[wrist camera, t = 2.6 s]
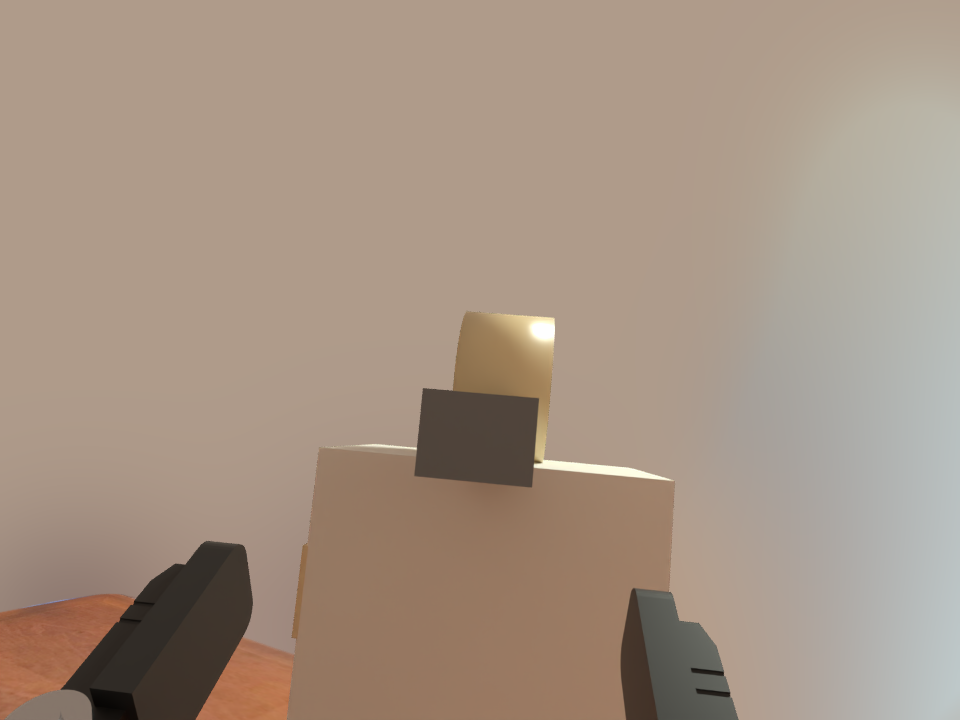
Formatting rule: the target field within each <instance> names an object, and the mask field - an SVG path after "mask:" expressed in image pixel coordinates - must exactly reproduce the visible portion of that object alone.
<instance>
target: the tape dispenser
mask: <svg viewBox="0 0 960 720" xmlns="http://www.w3.org/2000/svg"><path fill="white" fill-rule="evenodd" d="M554 327H555V323H554V318H548V317H535V316H521V315H508V314H495V313H481V312H469V311H467V312H466V313H465V316H464V318H463V322H462V326H461V330H460V336H459V342H458V348H457V356H456V364H455V373H454V384H453V391H449V390H437V389H425V388H423V394H422V404H421V415H420V424H419V434H418V444H417V453H416V463H415V473H414V476H418V477H428V478H438V479H448V480H459V481H469V482H479V483H489V484H500V485H510V486H520V487H531V488H532V482H533V469H534V462H539V463H543V459H544V452H545V445H546V436H547V426H548V416H549V404H550V392H551V380H552V379H551V378H552V366H553V350H554Z"/></svg>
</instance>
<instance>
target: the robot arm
mask: <svg viewBox="0 0 960 720" xmlns="http://www.w3.org/2000/svg"><path fill="white" fill-rule="evenodd" d="M252 606H253V599H252V591H251V584H250V576H249V569H248V562H247V554H246V550H245V547H244V546H243V545H240V544H232V543H222V542H212V541H206V542H204V543H203V544H201V545H200V547H199V548H198V549H197V550H196V552H195V553H194V554H193V556H192V557H191V558H190V559H189V561H188V562H187V563H186V565H182V564H174V565H173V566H171V567H170V568H168V569H167V570H166V571H164V572H163V573H161V574H160V575H158V576H157V577H155V578H154V579H153V580H151V581H150V582H149V584H148V585H147V586H146V587H145V588H144V590H143V591H142V592H141V593H140V595H139V596H138V597H137V598H136V599H135V601H134V604H133V605H130V607H129V608H128V609H127V610H126V611H125V613H124V614H123V615H122V616H121V617H120V621H119V623H118V622H116V624H115V625H114V626H113V627H112V628H111V630H110V631H109V632H108V633H107V634H106V636H105V637H104V638H103V639H102V640H101V642H100V643H99V644H98V645H97V647H96V648H95V649H94V650H93V651H92V653H91V654H90V655H89V656H88V657H87V659H86V660H85V661H84V662H83V663H82V665H81V666H80V667H79V668H78V670H77V671H76V672H75V673H74V674H73V676H72V677H71V678H70V679H69V680H68V682H67V683H66V684H65V685H64V686H63V687H62V689H61V690H57V691H52V692H48V693H45V694H42V695H40V696H37V697H35V698H33V699H31V700H29V701H27V702H26V703H24V704H23V705H21V706H19V707H18V708H17V709H15V710H14V711H13V712H12V713H10V714H9V715H8V716H7V717H6V718H5V719H4V720H195V719H196V718H197V716H198V714H199V712H200V711H201V709H202V707H203V705H204V704H205V702H206V700H207V698H208V697H209V695H210V693H211V691H212V690H213V688H214V686H215V684H216V683H217V681H218V679H219V677H220V675H221V674H222V672H223V670H224V668H225V667H226V665H227V663H228V661H229V660H230V658H231V656H232V654H233V653H234V651H235V649H236V647H237V646H238V644H239V642H240V640H241V639H242V637H243V635H244V633H245V631H246V629H247V627H248V624H249V621H250V618H251V613H252ZM620 668H621V682H622V690H623V699H624V707H625V715H626V720H738V717H737V713H736V710H735V707H734V703H733V700H732V698H731V697H730V690H729V687H728V683H727V680H726V677H725V676H724V670H723V667H722V663H721V660H720V657H719V653H718V650H717V647H716V645H715V644H714V642H713V641H712V640H711V639H710V637H709V636H708V635H707V633H706V632H705V631H704V629H703V628H702V627H701V625H700V624H699V623H693V622H684V621H679V618H678V615H677V610H676V606H675V602H674V598H673V595H672V593H671V592H666V591H657V590H648V589H638V588H633V589H632V591H631V594H630V599H629V605H628V611H627V616H626V622H625V628H624V633H623V639H622V645H621V659H620Z"/></svg>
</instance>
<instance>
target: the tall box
mask: <svg viewBox="0 0 960 720" xmlns="http://www.w3.org/2000/svg"><path fill="white" fill-rule="evenodd" d="M416 453H417V448H411V447H400V446H390V445H379V444H373V445H372V444H371V445H354V446H353V445H352V446H334V447H319V453H318V461H317V470H316V478H315V486H314V495H313V503H312V511H311V520H310V529H309V537H308V543H306V544H304V545H303V549H302V557H301V564H300V574H299V581H298V589H297V598H296V606H295V615H294V623H293V631H292V638H296V646H295V654H294V663H293V671H292V679H291V688H290V696H289V705H288V713H287V720H626V715H625V707H624V699H623V690H622V682H621V668H620V659H621V645H622V639H623V633H624V628H625V622H626V616H627V611H628V605H629V599H630V594H631V591H632V589H633V588H638V589H648V590H657V591H666V592H669V583H670V564H671V544H672V526H673V508H674V488H675V481H673V480H670V479H666V478H663V477H659V476H656V475H653V474H649V473H646V472H643V471H639V470H636V469H633V468H625V467H614V466H603V465H592V464H582V463H572V462H560V461H549V460H543V463H539V462H534V469H533V482H532V488H531V487H520V486H510V485H500V484H489V483H479V482H469V481H459V480H448V479H438V478H428V477H418V476H414V473H415V463H416Z"/></svg>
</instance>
